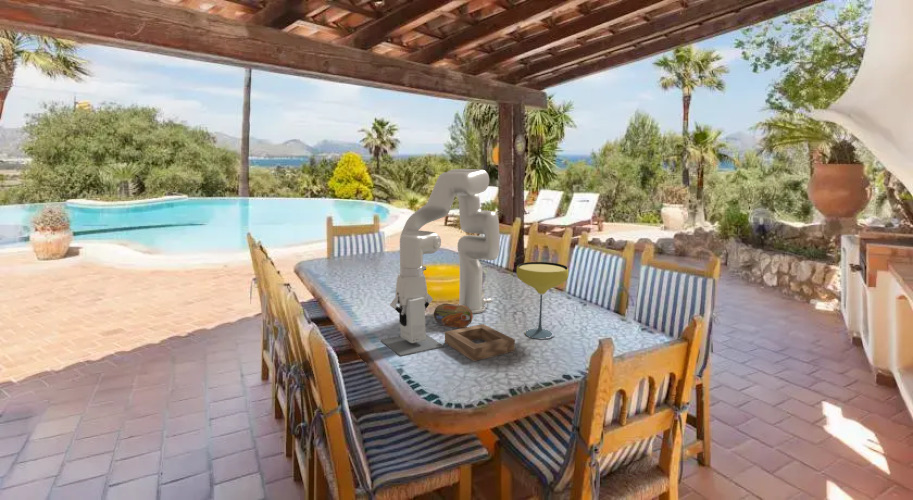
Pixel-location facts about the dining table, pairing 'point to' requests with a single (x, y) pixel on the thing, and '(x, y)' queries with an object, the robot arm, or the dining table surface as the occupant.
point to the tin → (453, 315)
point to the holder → (490, 348)
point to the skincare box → (414, 321)
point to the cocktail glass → (541, 284)
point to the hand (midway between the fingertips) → (412, 322)
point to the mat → (410, 345)
